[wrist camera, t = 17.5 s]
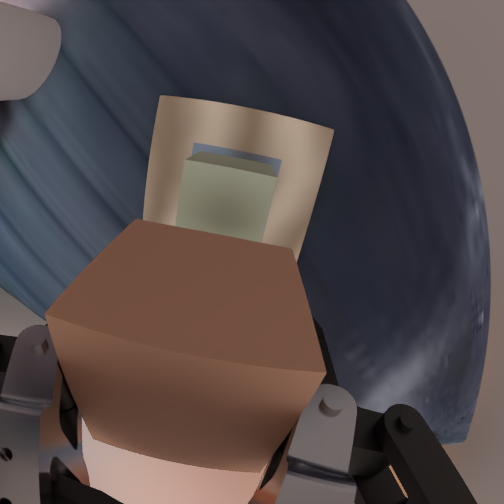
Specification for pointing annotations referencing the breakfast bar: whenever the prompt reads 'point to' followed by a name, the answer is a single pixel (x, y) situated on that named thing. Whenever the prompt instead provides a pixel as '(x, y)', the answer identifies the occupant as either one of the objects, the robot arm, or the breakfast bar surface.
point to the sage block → (225, 195)
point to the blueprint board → (240, 146)
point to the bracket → (25, 50)
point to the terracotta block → (189, 346)
